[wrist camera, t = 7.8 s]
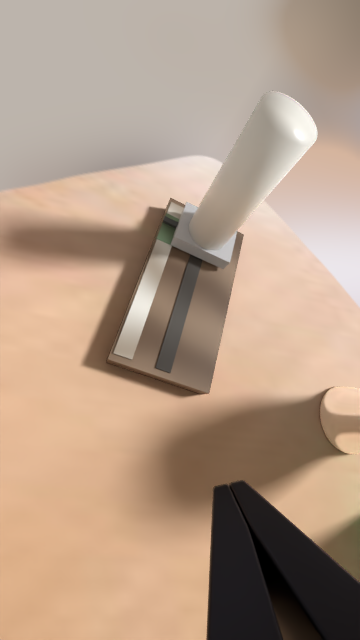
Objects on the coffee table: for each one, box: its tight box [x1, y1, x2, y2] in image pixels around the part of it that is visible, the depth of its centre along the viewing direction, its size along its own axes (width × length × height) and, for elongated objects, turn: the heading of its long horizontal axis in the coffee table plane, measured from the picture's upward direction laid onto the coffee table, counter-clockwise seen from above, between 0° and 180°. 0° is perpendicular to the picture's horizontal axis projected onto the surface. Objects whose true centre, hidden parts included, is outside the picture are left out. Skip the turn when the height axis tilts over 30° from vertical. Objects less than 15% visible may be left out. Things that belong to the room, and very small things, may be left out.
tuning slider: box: [163, 91, 317, 269], centre depth 19 cm, size 4×6×11 cm, turn 74°
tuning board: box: [107, 198, 244, 394], centre depth 23 cm, size 16×8×2 cm, turn 164°
